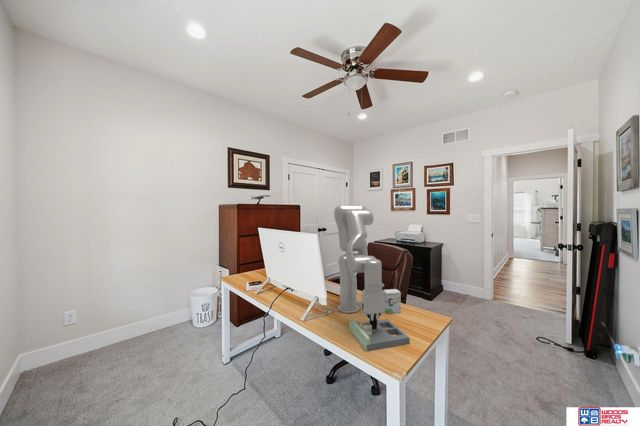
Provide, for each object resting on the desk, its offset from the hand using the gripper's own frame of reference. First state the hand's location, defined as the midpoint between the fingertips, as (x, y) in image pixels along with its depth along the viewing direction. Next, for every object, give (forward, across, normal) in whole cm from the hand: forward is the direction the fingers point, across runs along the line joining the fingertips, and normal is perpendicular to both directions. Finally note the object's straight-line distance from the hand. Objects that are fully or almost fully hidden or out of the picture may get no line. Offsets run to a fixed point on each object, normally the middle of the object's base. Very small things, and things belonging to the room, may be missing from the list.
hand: (373, 327), depth 106 cm
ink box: (+4, -23, -21) cm, 31 cm away
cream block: (+2, +4, 0) cm, 4 cm away
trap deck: (+4, -2, 0) cm, 5 cm away
